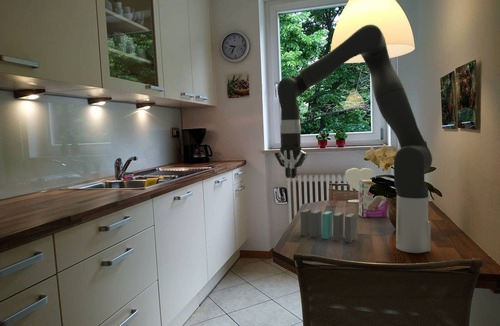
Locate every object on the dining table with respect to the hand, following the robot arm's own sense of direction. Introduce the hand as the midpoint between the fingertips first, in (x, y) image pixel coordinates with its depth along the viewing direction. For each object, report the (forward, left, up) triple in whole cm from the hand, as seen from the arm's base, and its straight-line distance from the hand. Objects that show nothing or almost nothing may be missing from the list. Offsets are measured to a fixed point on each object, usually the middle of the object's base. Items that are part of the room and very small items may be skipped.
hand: (291, 177), depth 138 cm
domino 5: (-20, +11, -21) cm, 31 cm away
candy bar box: (-37, -24, -21) cm, 49 cm away
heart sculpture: (-40, -60, -21) cm, 75 cm away
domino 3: (-13, +7, -21) cm, 25 cm away
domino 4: (-16, +9, -21) cm, 28 cm away
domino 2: (-9, +5, -21) cm, 23 cm away
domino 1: (-5, +3, -21) cm, 22 cm away
